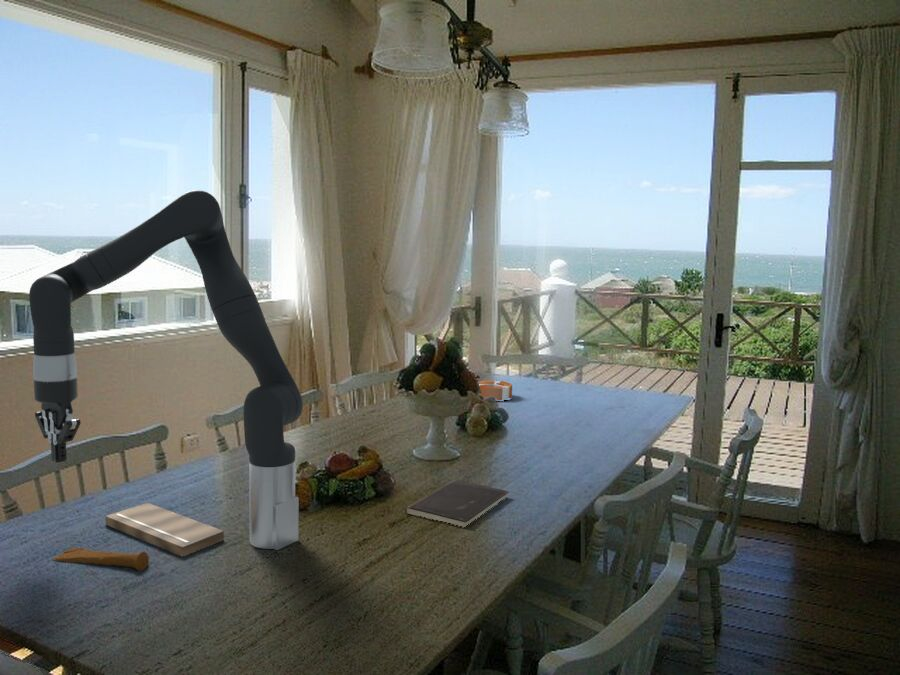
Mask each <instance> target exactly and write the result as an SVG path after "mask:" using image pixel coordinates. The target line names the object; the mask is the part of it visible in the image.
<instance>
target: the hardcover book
mask: <svg viewBox="0 0 900 675" xmlns="http://www.w3.org/2000/svg"><path fill="white" fill-rule="evenodd" d="M509 493H510V491H509V490H504V489H500V488H497V487H491V486H486V485H481V484H476V483H473V482H472V483H471V482H467V481H464V480H463V481H462V480H459V479H453V480H451V481H450V482H448V483H446V484H444V485H443V486H441V487H439V488H437V489H436V490H434V491H433V492H431V493H428V494H427V495H426V496H423V497H421V498H420V499H418V500H416V501H415V502H413V503H411V504H409V505H408V506H406V507H405V510H404V511H405V514H409V515H412V516H416V517H420V516H421V517H420V518H424V517H425V519H428V520H432V519H433V521H436V520H438V521H437V522H440V521H443V522H442V523H444V522H447V523H446V524H448V523H451V524H450V525H452V524H454V525H453V526H456V525H458V526H457V527H460V526H462V527H461V528H464V527H465V528H467V527H468V526H469V525H471V524H472V523H473V522H472V521H474V520H475V519H476V520H478V519H479V518H481V517H482V516H483V515H485V514H486V513H487V512H486V511H488V510H489V509H490V508H492V507H493V506H494V505H496V504H497V503H498V502H500V501H501V500H502V499H504V498H505V497H506V496H507V497H508V494H509ZM504 500H505V499H504ZM500 503H501V502H500ZM497 505H498V504H497ZM497 505H496V506H497ZM493 508H494V507H493ZM493 508H492V509H493ZM490 510H491V509H490ZM490 510H489V511H490ZM489 511H488V512H489ZM485 512H486V513H485ZM484 513H485V514H484ZM482 514H483V515H482ZM481 515H482V516H481ZM480 516H481V517H480ZM478 517H479V518H478ZM477 518H478V519H477ZM476 520H475V521H476ZM475 521H474V522H475ZM471 522H472V523H471ZM470 523H471V524H470ZM468 524H469V525H468ZM467 525H468V526H467ZM466 526H467V527H466Z"/></svg>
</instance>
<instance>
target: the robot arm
mask: <svg viewBox="0 0 900 675" xmlns="http://www.w3.org/2000/svg"><path fill="white" fill-rule="evenodd" d="M225 228H226V227H225V224H224V218H223V213H222V210H221V206H220V203H219V202H218V199H216V198H215V196H213V194H211V193H209V192H207V191H205V190H201V189H195V190H194V189H193V190H189V191H186V192H185V193H182V194H181V195H180V196H179V197H177V198H175V199H174V200H172V202H170V203H169V204H167V205H166V206H165V207H163V208H162V209H161V210H160V211H158V212H157V213H155V214H154V215H153V216H151V217H150V218H147V219H146V220H145V221H143V222H142V223H141V224H139V225H137V226H135V227H134V228H132V229H131V230H129V231H127V232H125V233H123V234H122V235H120V236H119V237H116V238H115V239H111V241H109V242H107V243H105V244H103V245H100V246H99V247H97V248H95V249H93V250H91V251H89V252H87V253H85V254H84V255H82V256H80V257H78V258H77V259H76V260H75V261H73V262H71V263H69V264H66V265H65V266H62V267H60V268H58V269H55V270H54V271H52V272H49V273H47V274H44V275H43V276H41V277H39V278H37V279H36V280H34V282H33V283H32V284H31V286H30V288H29V295H28V296H29V300H28V301H29V306H30V315H31V321H32V327H33V336H32V337H33V341H32V342H33V363H32V364H33V365H32V368H33V369H32V371H33V372H32V373H33V393H34V395H33V396H34V401H35V402H37V403H41V404H40V405H41V406H40V407H41V410H39V411H37V412H36V411H35V413H34V417H35V419H36V422H37V424H38V426H39V429H40V431H41V434H42V435H43V438H44V439H47V440H48V441H47V442H48V443H49V444H50V452H51V453H50V454H51V461H52V462H54V463H56V464H57V463H59V464H60V463H62V462H65V461H67V457H68V456H67V443H68V442H73V440H74V438H75V436H76V434H77V432H78V430H79V428H80V425H81V423H82V422H81V419H80V418H76V419H75V417H74V416H73V413H74V410H73V406H72V402H73V401H75V400H77V398H78V396H79V393H78V392H79V391H78V370H77V368H78V365H77V359H76V354H75V353H76V352H75V335H74V334H75V333H74V329H73V326H72V307H71V306H72V305H71V304H72V303H74V302H75V301H77V300H78V299H80V298H82V297H83V296H86V295H87V294H89V293H90V292H92V291H95V290H100V289H101V288H103V287H106V286H108V285H110V284H111V283H113V282H115V281H117V280H119V279H120V278H123V277H124V276H126V275H128V274H129V273H131V272H132V271H135V270H136V269H137V268H138V267H139V266H141V265H142V264H143V263H144V262H146V261H147V260H148V259H149V258H150V257H152V256H153V255H154V254H156V253H157V252H158V251H159V250H162V249H163V248H164V247H166V246H168V245H170V244H171V243H174V242H176V241H179V240H180V239H181V240H182V239H183V238H184V239H185V241H186V243H187V245H188V247H189V248H190V250H191V252H192V254H193V256H194V258H195V260H196V262H197V264H198V267H199V270H200V271H201V275H202V276H201V277H202V281H203V283H204V289H205V293H206V297H207V300H208V303H209V307H210V309H211V312H212V314H213V317H214V318H215V322H216V324H217V326H218V329H219V331H220V333H221V335H222V336H223V337H224V338H225V339H226V340H227V342H228V343H229V344H230V345H231V346H232V347H233V348H234V349H235V350H236V351H237V353H239V354H240V355H241V356H242V357H243V358H244V359H245V360H246V361H247V363H248V364H249V365H250V366H251V368H252V370H253V372H254V374H255V376H256V378H257V381H258V383H259V386H258V387H257V386H256V387H254V388H252V389H251V390H250V391H249V392H248V393H247V395H246V397H245V399H244V401H243V402H244V403H243V409H242V412H243V413H242V415H243V417H242V418H243V431H244V432H243V434H244V446H245V449H246V450H247V453H248V458H249V460H248V461H249V463H248V464H249V466H248V468H249V469H248V473H249V474H248V477H249V478H248V479H249V480H248V481H249V482H248V483H249V486H248V488H249V489H248V490H249V491H248V492H249V493H248V496H249V498H248V500H249V501H248V502H249V505H248V506H249V507H248V508H249V509H248V510H249V522H248V523H249V543H250V545H251V546H253V547H254V548H258V549H265V550H266V549H267V550H268V549H269V550H270V549H271V550H275V551H278V550H281V549H283V548H285V547H287V546H289V545H291V544H294V543H296V542H298V541H299V517H300V516H299V513H300V512H299V511H300V510H299V505H300V503H299V501H300V500H299V497H298V496H296V448H295V446H294V445H293V444H292V443H290V442H286V441H285V436H284V427H285V426H287V425H290V424H293V423H295V422H296V421H298V419H299V418H300V417H301V414H302V412H303V407H304V406H303V405H304V404H303V397H302V395H301V392H300V390H299V387H298V386H297V384H296V381H295V379H294V378H293V375H291V373H290V370H289V369H288V367H287V365H286V363H285V361H284V360H283V358H282V355H281V354H280V351H279V349H278V347H277V345H276V343H275V340H274V337H273V335H272V333H271V331H270V329H269V326H268V323H267V321H266V318H265V316H264V313H263V311H262V308H261V305H260V303H259V301H258V298H257V296H256V294H255V291H254V290H253V288H252V284H250V282H249V280H248V277H247V276H246V274H245V273H244V272H243V270H242V268H241V266H240V265H239V264H238V262H237V260H236V257H235V256H234V254H233V251H232V249H231V246H230V242H229V239H228V236H227V232H226V229H225Z"/></svg>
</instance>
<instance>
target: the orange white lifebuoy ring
mask: <svg viewBox="0 0 900 675" xmlns="http://www.w3.org/2000/svg"><path fill="white" fill-rule="evenodd" d="M479 386H480V390H481V395H482V396H484V397H494V398H496V399H497V400H502V399H507V398H511V397H512V398H513V384H512V383H511V382H508V381H504V379H503V378H502V380H501V381H499V380H481V381H479Z"/></svg>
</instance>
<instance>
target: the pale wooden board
mask: <svg viewBox="0 0 900 675" xmlns="http://www.w3.org/2000/svg"><path fill="white" fill-rule="evenodd" d="M105 525H106V526H108V527H110V528H113V529H115V530H117V531H120V532H123V533H124V532H125V533H124V534H127V535H129V534H130V535H129V536H131V535H132V536H131V537H133V538H137V539H139V540H142V541H143V540H144V542H146V543H148V542H149V543H148V544H150V545H153V544H154V546H155V545H156V547H158V546H159V547H158V548H160V547H161V548H160V549H163V548H164V549H163V550H165V549H166V550H165V551H167V550H168V551H167V552H170V553H172V552H173V553H172V554H175V555H176V556H177V555H178V556H180V557H181V558H182V557H183V556H184V557H185V556H188V555H190V553H191V554H194V553H195V552H198V551H200V549H201V550H203V549H206V548H208V547H211V546H213V545H215V544H217V543H220V542H222V541H224V540H225V538H224V537H225V536H224V533H225V531H224V530H223V529H219V528H218V527H215V526H214V527H213V526H211V525H208V524H205V523H203V522H201V521H198V520H195V519H192V518H190V517H187V516H185V515H181V514H179V513H176V512H173V511H171V510H168V509H165V508H163V507H161V506H157V505H154V504H152V503H149V502H145V503H143V504H142V503H141V504H139V505H136V506H135V505H134V506H133V507H129V508H126V509H123V510H121V511H117V512H114V513H111V514H108V515H105ZM212 544H213V545H212ZM207 546H208V547H207ZM205 547H206V548H205ZM202 548H203V549H202ZM197 550H198V551H197Z"/></svg>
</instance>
